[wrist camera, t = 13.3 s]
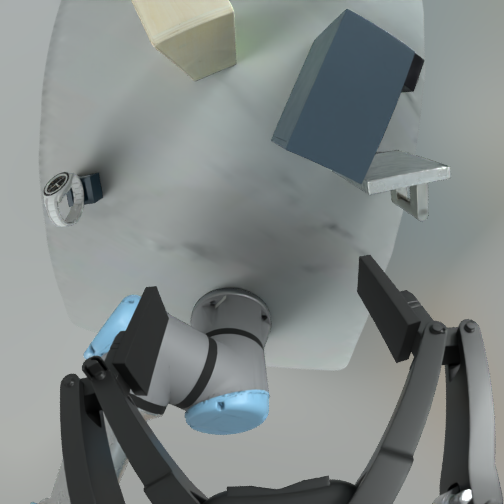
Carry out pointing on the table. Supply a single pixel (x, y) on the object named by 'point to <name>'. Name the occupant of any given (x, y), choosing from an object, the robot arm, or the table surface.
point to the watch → (71, 195)
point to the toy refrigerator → (191, 33)
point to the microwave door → (403, 179)
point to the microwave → (347, 95)
